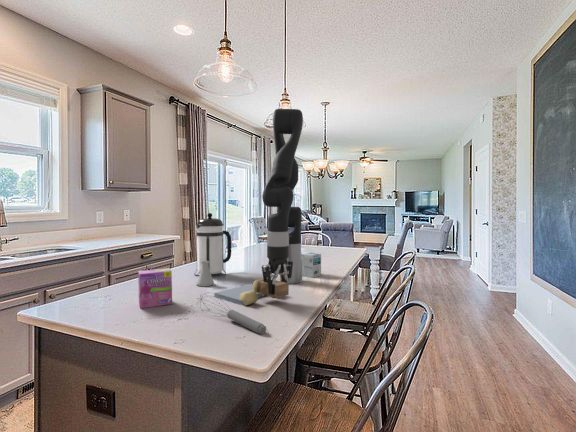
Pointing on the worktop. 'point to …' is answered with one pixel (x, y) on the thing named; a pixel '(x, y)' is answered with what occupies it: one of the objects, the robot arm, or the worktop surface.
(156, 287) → the box
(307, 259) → the light bulb box
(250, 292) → the grey flat piece
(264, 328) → the kitchen whisk
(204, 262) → the flask
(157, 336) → the worktop surface
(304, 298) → the worktop surface
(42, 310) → the worktop surface
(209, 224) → the coffee press
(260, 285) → the tan wooden beam
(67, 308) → the worktop surface
